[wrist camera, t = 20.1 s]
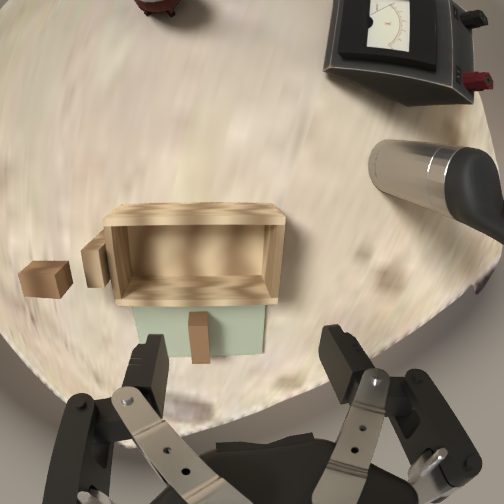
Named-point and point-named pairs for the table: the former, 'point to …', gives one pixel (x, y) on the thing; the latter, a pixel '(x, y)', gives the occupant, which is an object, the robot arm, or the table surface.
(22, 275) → the wooden block
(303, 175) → the table surface
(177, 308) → the lid
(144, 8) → the mate gourd
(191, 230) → the toolbox
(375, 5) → the voltmeter
